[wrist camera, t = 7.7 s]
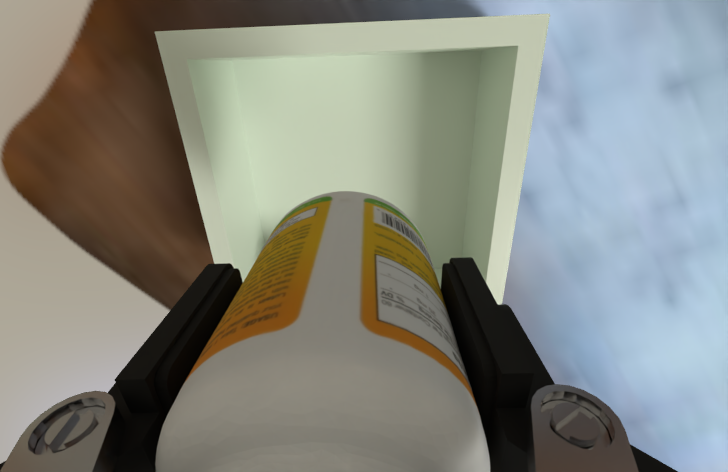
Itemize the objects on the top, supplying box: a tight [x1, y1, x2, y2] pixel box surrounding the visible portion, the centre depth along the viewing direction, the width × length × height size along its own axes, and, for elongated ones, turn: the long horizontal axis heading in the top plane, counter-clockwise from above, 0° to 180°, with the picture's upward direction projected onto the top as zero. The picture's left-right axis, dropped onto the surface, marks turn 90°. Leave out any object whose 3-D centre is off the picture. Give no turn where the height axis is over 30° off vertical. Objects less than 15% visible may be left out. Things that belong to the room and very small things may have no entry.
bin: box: [155, 14, 550, 305], centre depth 19 cm, size 15×15×6 cm
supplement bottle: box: [155, 191, 490, 472], centre depth 8 cm, size 5×5×10 cm
